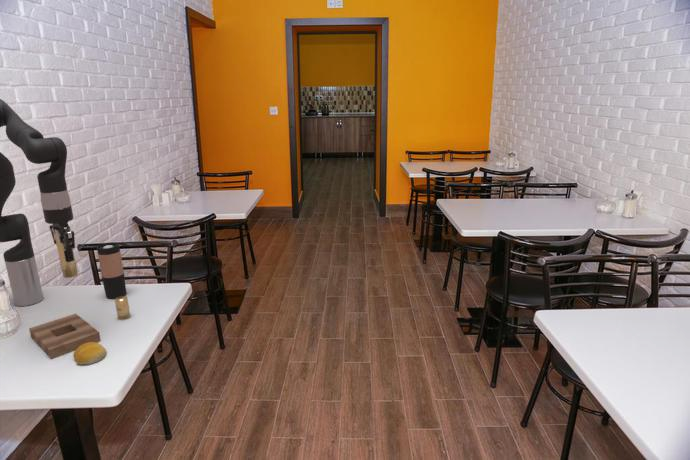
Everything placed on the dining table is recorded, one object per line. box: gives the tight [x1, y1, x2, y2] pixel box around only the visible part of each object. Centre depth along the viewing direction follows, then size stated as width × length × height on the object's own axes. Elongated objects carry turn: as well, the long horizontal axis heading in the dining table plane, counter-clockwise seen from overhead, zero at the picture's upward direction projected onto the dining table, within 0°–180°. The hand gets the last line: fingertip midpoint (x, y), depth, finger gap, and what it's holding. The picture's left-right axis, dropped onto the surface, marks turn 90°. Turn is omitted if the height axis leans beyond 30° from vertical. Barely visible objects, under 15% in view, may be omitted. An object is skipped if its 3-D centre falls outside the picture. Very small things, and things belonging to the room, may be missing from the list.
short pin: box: [114, 295, 131, 321], centre depth 168 cm, size 4×4×7 cm
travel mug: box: [96, 242, 127, 300], centre depth 185 cm, size 8×8×20 cm
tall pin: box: [55, 233, 79, 279], centre depth 152 cm, size 4×4×14 cm
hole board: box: [28, 313, 101, 360], centre depth 155 cm, size 20×14×3 cm
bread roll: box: [73, 342, 107, 366], centre depth 144 cm, size 8×9×4 cm
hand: (67, 259), depth 152 cm, fingers closed on tall pin, 4 cm apart
